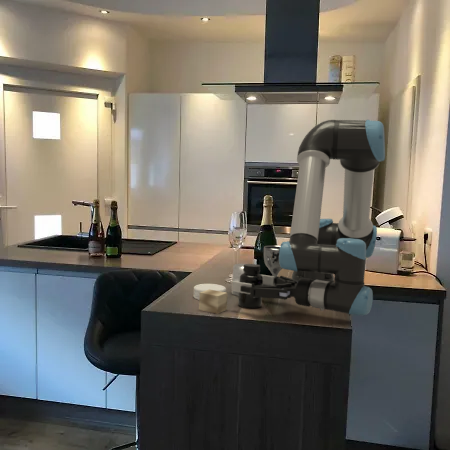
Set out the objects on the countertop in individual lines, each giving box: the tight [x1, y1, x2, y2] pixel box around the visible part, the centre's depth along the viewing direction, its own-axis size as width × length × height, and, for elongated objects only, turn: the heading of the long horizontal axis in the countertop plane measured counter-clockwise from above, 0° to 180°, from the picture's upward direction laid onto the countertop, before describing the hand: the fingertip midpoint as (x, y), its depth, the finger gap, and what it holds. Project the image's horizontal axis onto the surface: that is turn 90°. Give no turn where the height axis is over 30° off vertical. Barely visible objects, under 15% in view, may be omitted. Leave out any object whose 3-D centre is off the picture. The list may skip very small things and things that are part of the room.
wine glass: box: [263, 245, 284, 286], centre depth 160 cm, size 8×8×15 cm
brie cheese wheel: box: [192, 283, 227, 301], centre depth 151 cm, size 10×10×4 cm
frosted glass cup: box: [231, 263, 245, 297], centre depth 157 cm, size 7×7×9 cm
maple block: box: [198, 289, 228, 315], centre depth 137 cm, size 6×5×5 cm
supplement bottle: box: [237, 263, 264, 309], centre depth 143 cm, size 7×7×12 cm
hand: (243, 281), depth 144 cm, fingers open, 13 cm apart
